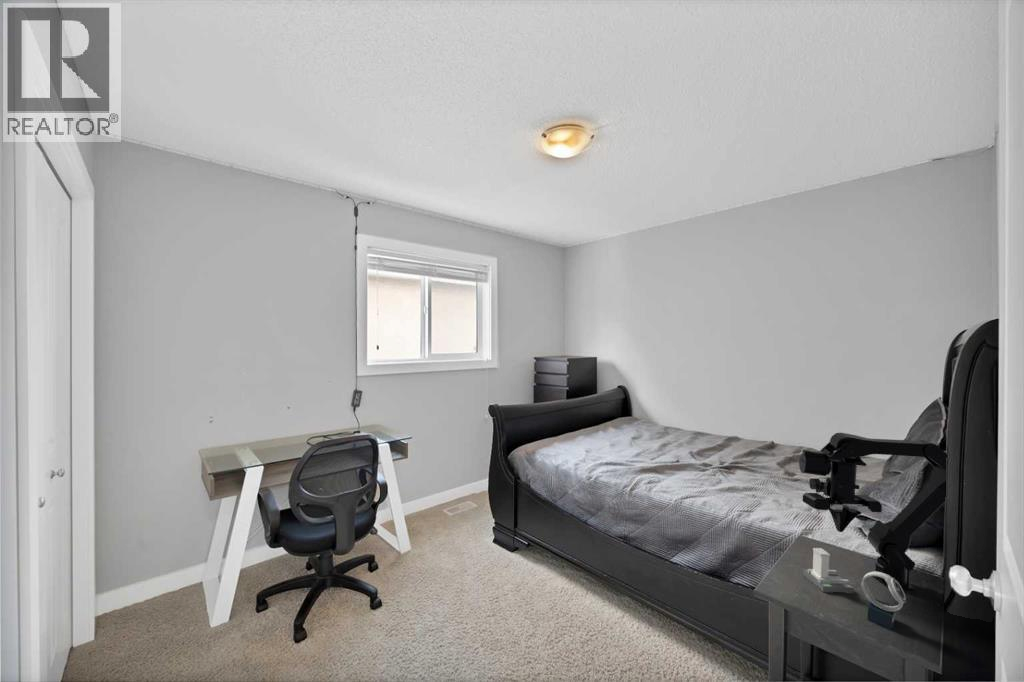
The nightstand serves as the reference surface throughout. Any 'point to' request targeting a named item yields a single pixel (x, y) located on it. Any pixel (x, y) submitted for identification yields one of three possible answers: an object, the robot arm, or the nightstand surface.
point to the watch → (880, 610)
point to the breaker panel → (830, 582)
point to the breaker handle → (820, 563)
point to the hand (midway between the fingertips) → (839, 531)
